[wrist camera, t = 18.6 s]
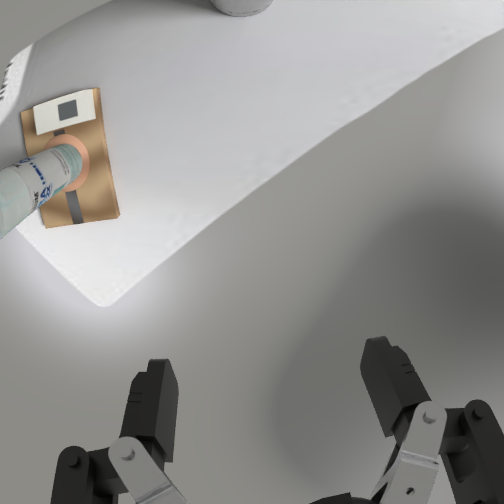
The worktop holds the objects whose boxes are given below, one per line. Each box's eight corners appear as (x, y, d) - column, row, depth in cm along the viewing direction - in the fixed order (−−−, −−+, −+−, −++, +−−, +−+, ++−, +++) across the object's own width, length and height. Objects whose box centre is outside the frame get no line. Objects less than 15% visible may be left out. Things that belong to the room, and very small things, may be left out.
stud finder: (45, 132, 37) (36, 135, 34) (42, 105, 35) (32, 106, 32) (95, 118, 37) (88, 120, 35) (92, 89, 35) (84, 89, 32)
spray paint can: (63, 191, 41) (-13, 254, 24) (41, 159, 38) (-44, 207, 21) (91, 167, 40) (14, 223, 23) (68, 133, 37) (-19, 169, 20)
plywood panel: (25, 111, 36) (20, 112, 34) (99, 87, 36) (94, 87, 35) (49, 224, 45) (45, 229, 44) (120, 214, 46) (116, 218, 44)
